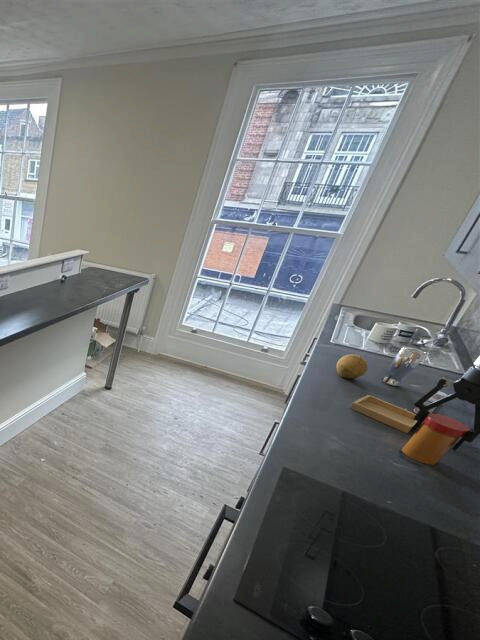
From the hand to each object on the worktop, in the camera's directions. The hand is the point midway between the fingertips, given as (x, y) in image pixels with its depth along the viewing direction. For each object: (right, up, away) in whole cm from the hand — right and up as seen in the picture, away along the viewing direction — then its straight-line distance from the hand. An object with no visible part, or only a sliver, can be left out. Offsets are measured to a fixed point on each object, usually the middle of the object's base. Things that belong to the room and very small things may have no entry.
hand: (433, 439), depth 116 cm
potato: (+20, +19, +49) cm, 56 cm away
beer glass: (+37, +16, +47) cm, 62 cm away
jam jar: (-1, -5, +3) cm, 6 cm away
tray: (+10, +5, +23) cm, 25 cm away
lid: (+1, +5, -3) cm, 6 cm away
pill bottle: (+27, +5, +27) cm, 38 cm away
